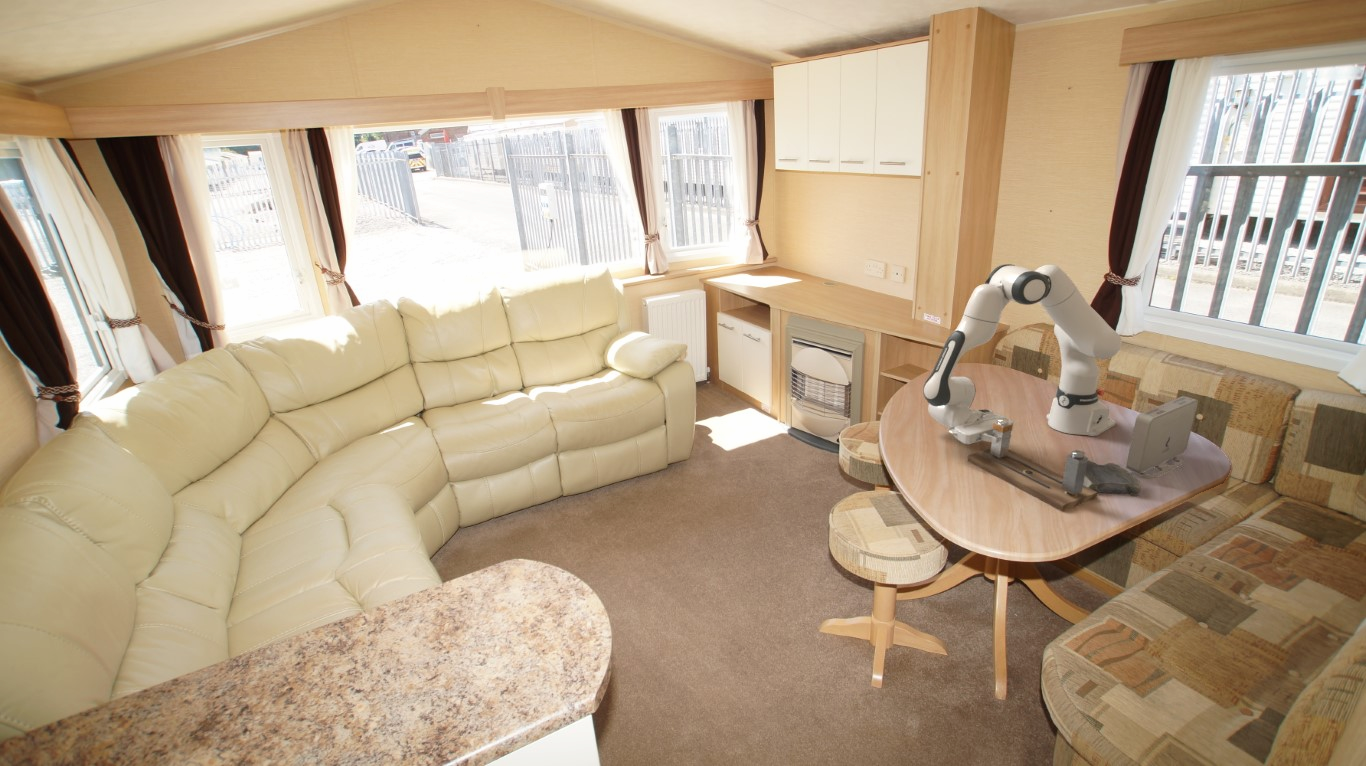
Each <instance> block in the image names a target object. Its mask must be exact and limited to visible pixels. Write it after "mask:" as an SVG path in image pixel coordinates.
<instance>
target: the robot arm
mask: <svg viewBox="0 0 1366 766" xmlns="http://www.w3.org/2000/svg"><path fill="white" fill-rule="evenodd" d="M1011 301H1012V302H1013V303H1014V302H1015V303H1018V304H1020V305H1025V306H1026V305H1027V306H1029V305H1031V306H1032V305H1035V304H1037V303H1040V304H1041V306H1042V307H1043V309H1044V310H1045V312H1046V313H1047V315H1048V316H1049V317H1050V319H1051V320H1052V321H1053V322H1054V328H1053V332H1054V335H1055V337H1056V339H1057V342H1058V345H1059V351H1060V359H1061V369H1060V378H1059V379H1060V380H1059V384H1058V386H1057V387H1056V392H1055V393H1056V394H1055V397H1054V398H1053V400H1052V404H1051V407H1050V411H1049V413H1047V414H1046V416H1045V417H1046V419H1047V424H1048V426H1049V427H1050V428H1052V429H1053V430H1056V431H1058V432H1061V433H1065V434H1069V435H1070V434H1071V435H1080V436H1081V435H1083V436H1090V437H1097V436H1099V435H1100V434H1102V433H1104V432H1106V431H1108V430H1109V429H1111V428H1112V427H1114V426H1115V425H1116V420H1114V419H1113V418H1111V417H1110V416H1109V415H1110V409H1109V407H1108V406H1107V405H1106V404H1104V403H1103V402H1102V401H1101V400H1099V396H1102V397H1103V396H1104V394H1105V390H1104V389H1100V388H1097V387H1098V384H1099V378H1100V377H1099V376H1100V368H1099V365H1098V363H1097V361H1096V359H1097V360H1109V359H1112V358H1113V357H1116V355H1117V354H1118V353H1119V352H1120V351H1121V349H1122V346H1123V339H1122V337H1121V335H1120V334H1119V333H1118V332H1117V331H1115V330H1114V329H1113V328H1112V327H1111V326H1110V325H1109V324H1108V323H1107V321H1106V320H1105V319H1103V317H1102V316H1101V315H1100V314H1099V313H1098V312H1097V311H1096V310H1095V309H1094V308H1093V307H1092V306H1091V305H1090V304H1089V303H1088V302H1087V301H1086V299H1085V298H1084V296H1083V295H1082V293H1081V291H1080V290H1079V289H1078V287H1077V286H1076V285H1075V283H1074V281H1073V280H1072V279H1071V278H1070V276H1068V275H1067V273H1066V272H1065V271H1064V270H1063V269H1062V268H1061V267H1059V266H1058V265H1056V264H1044V265H1042V266H1040V267H1038V268H1036V269H1035V270H1032V269H1030V268H1027V267H1024V266H1018V265H1015V264H1010V263H1009V264H1006V263H1005V264H1001V265H999V266H997V267H995V268H994V269H993V270H992V271H991V272H990V274H989V276H988V277H987V279H985V282H984V283H982V284H980V285H978V286H976V287H975V288H974V289H973V292H972V293H971V295H970V297H969V299H968V302H967V304H966V306H965V308H964V311H963V315H962V318H961V320H960V321H959V324H958V325H957V327H956V328H955V330H954V331H953V332H952V333H951V334H950V335H949V337H948V339H946V342H945V344H944V345H943V347H942V350H941V352H940V355H939V356H938V359H937V361H936V363H935V366H934V367H933V370H932V372H931V374H930V375H929V376H928V377H927V379H926V380H925V382H924V385H923V387H922V388H923V389H922V394H923V396H924V398H925V400H926V402H927V403H928V409H927V410H928V414H929V415H930V417H931V418H932V419H934V421H935V422H937V423H939V424H941V425H943V426H944V427H947V428H949V429H948V433H949V434H951V435H953V437H954V438H955V439H956V440H957V441H959V442H961V443H962V444H965V445H972V444H976V443H978V442H982V441H983V442H990V443H992V442H993V443H998V442H999V437H997V436H992V435H993V423H994V422H997V421H998V419H999V418H1007V419H1008V420H1009V423H1011V424H1012V430H1011V432H1013V429H1014V422H1013V420H1012V419H1010V418H1008V417H1006V416H1004V415H1002V414H999V413H995V412H994V411H993V410H991V409H976V408H975V409H974V408H973V409H971V407H972V404H973V402H974V399H975V397H976V393H977V390H976V386H975V385H976V384H975V383H974V382H973V380H972V379H971V378H970V377H968V376H953V373H954V372H955V369H956V367H957V365H958V363H959V361H960V359H961V357H962V356H963V355H964V354H965V353H966V352H968V351H969V350H972V349H974V348H976V347H979V346H982V345H984V344H986V343H988V342H989V341H991V339H993V337H994V335H995V333H996V332H997V329H998V326H999V323H1000V320H1001V318H1002V313H1003V310H1004V309H1005V307H1006V306H1007V305H1008V304H1009V303H1010V302H1011ZM1011 439H1012V435H1011V436H1010V440H1011Z"/></svg>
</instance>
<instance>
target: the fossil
mask: <svg viewBox="0 0 1366 766" xmlns="http://www.w3.org/2000/svg"><path fill="white" fill-rule="evenodd" d="M1083 485H1084V486H1086V487H1088V488H1090V489H1092V490H1094V491H1096V492H1098V494H1100V495H1101V494H1102V495H1130V496H1132V495H1133V496H1132V497H1137V496H1138V495H1139V494H1140V492H1141V491H1142V484H1141V481H1140V480H1139V478H1137V477H1135V476H1134V475H1133V474H1132V473H1131V472H1130V471H1128V470H1127V469H1126V468H1123V467H1122V466H1120V465H1119V464H1116V463H1113V462H1108V463H1106V464H1098V463H1096V462H1094V461H1091V460H1089V459H1088V461H1087V467H1086V472H1085V477H1084V483H1083ZM1098 494H1097V495H1098Z"/></svg>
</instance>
